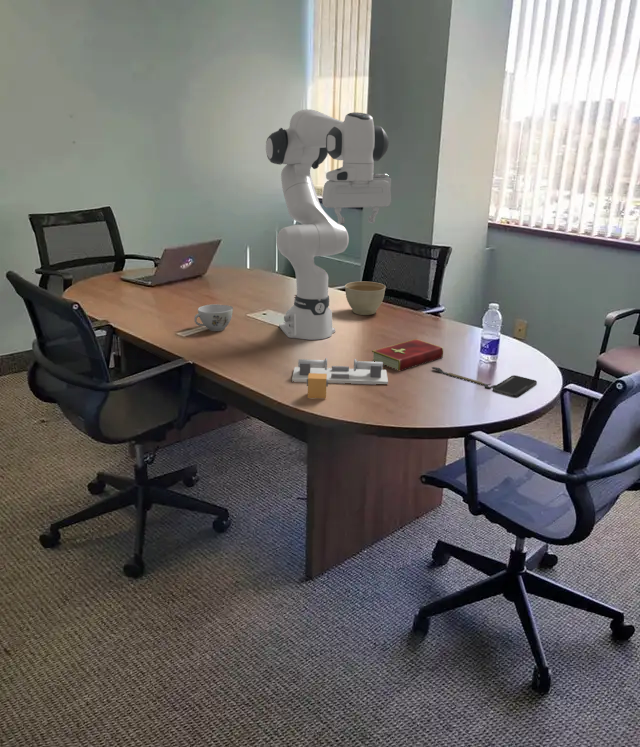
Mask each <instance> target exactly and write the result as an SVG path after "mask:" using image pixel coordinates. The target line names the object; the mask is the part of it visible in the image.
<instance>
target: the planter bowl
mask: <svg viewBox="0 0 640 747" xmlns="http://www.w3.org/2000/svg"><path fill="white" fill-rule="evenodd" d="M344 288H345V298H346V300H347V303H348V305H349V306H350V308H351V309H352V313H354V314H355V315H356V314H357V315H361V316H370V315H374V314H376V312H377V310H378V309H379V307H380V306H381V305H382V303H383V301H384V297H385V294H386V293H385V291H386V285H385V284H383V283H380V282H375V281H374V282H373V281H362V280H360V281H352V282H351V281H350V282H348V283H346V284H345V285H344Z"/></svg>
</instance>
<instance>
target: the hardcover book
mask: <svg viewBox="0 0 640 747" xmlns="http://www.w3.org/2000/svg"><path fill="white" fill-rule="evenodd" d="M371 353H373V357H372V358H373V359H372V362H374V361H375V362H383V364H384V365H383V366H385V365H387V366H386V367H388V366H390V367H392V368H391V369H393V368H395V369H394V370H396V369H398V370H401V371H403V370H402V369H404V370H406V369H405V368H407V369H410V368H413V367H412V366H414V367H416V366H415V365H417V366H419V364H420V365H423V364H426V363H430V362H432V360H433V361H436V360H439V359H442V358H443V357H444V347H443V346H440V345H436V344H434V343H430V342H427V341H425V340H421V339H417V338H414V339H409V340H406V341H402V342H399V343H396V344H392V345H391V344H390V345H388V346H384V347H380V348H375V349H374V350H371ZM441 357H442V358H441ZM435 359H436V360H435ZM429 361H430V362H429ZM425 362H426V363H425ZM422 363H423V364H422ZM390 367H389V368H390ZM409 367H410V368H409ZM398 370H397V371H398Z"/></svg>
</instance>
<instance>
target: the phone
mask: <svg viewBox="0 0 640 747" xmlns="http://www.w3.org/2000/svg"><path fill="white" fill-rule="evenodd" d="M537 383H538V381H537V380H535V379H532V378H527V377H523V376H520V375H514V374H513V375H511V376H509V377H507V378H506V379H504V380H503V381H501V382H499V383H498V384H495V385H496V386H494V387H493V388H492V392H494V393H496V394H497V393H498V394H502V395H505V396H507V397H512V398H518V397H520V396H521V395H523V394H524V393H526V392H528V391H529V390H530V389H532V388H533V387H534V386H536V385H537Z"/></svg>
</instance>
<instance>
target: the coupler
mask: <svg viewBox="0 0 640 747" xmlns="http://www.w3.org/2000/svg"><path fill="white" fill-rule="evenodd" d="M328 386H329V383H328V379H327V374H318V373H309V375H308V379H307V382H306V387H307V399H308V398H326V399H327V387H328Z"/></svg>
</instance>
